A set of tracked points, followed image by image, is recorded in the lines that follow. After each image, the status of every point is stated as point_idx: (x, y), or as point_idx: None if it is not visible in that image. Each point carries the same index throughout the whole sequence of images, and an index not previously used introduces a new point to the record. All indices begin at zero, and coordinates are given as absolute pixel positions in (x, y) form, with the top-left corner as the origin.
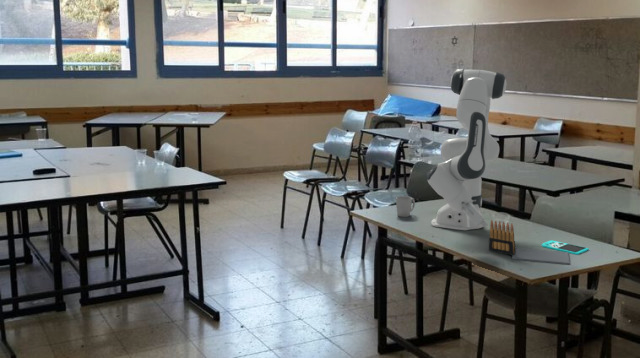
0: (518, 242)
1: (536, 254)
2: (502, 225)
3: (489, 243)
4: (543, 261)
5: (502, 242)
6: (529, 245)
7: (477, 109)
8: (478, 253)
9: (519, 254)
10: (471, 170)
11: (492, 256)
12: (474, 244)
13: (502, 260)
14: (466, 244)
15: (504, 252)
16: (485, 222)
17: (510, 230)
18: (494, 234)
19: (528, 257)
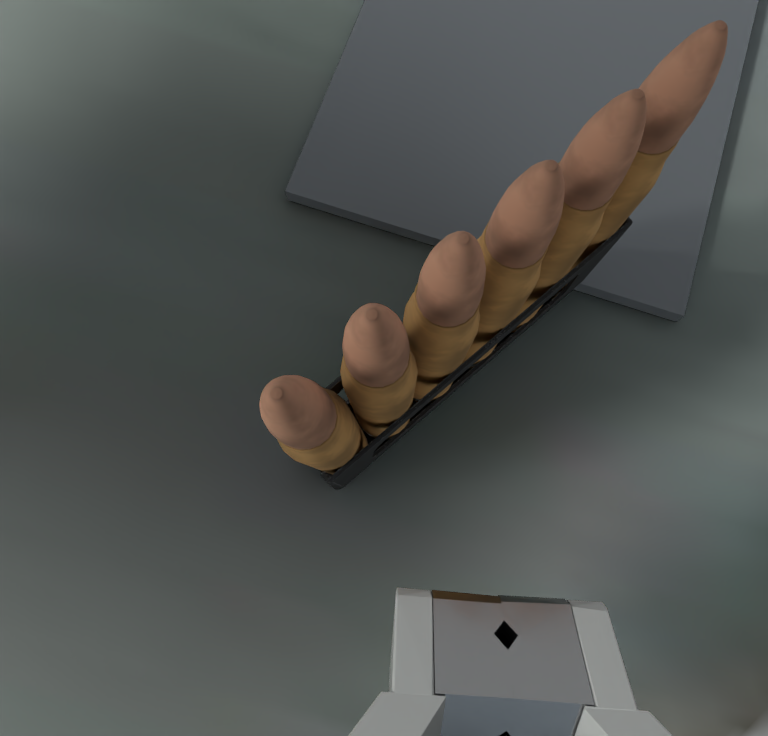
0: (41, 80)
1: (543, 47)
2: (540, 230)
3: (340, 483)
4: (744, 53)
5: (504, 335)
6: (164, 12)
7: None
8: None
9: None
10: None
11: (582, 513)
12: (57, 610)
13: (729, 438)
14: (43, 727)
15: (504, 347)
16: (625, 676)
17: (658, 150)
18: (400, 408)
19: None
